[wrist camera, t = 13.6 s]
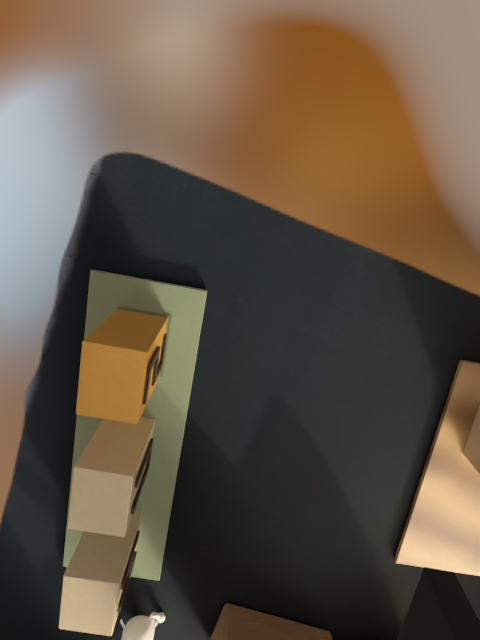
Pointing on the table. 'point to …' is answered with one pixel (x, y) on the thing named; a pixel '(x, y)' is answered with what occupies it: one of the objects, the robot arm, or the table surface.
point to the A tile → (474, 443)
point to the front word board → (162, 405)
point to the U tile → (111, 477)
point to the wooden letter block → (98, 580)
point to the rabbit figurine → (141, 626)
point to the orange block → (121, 366)
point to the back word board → (448, 489)
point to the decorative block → (261, 627)
